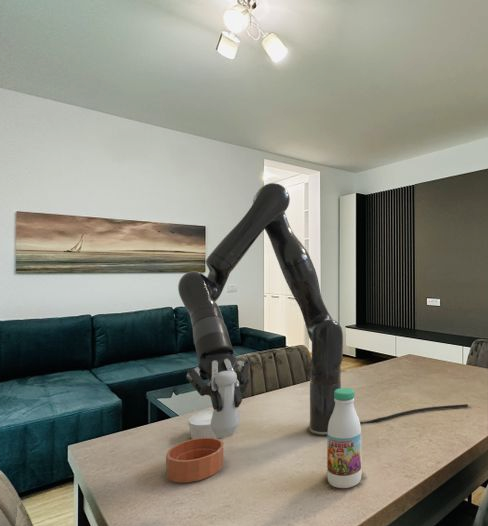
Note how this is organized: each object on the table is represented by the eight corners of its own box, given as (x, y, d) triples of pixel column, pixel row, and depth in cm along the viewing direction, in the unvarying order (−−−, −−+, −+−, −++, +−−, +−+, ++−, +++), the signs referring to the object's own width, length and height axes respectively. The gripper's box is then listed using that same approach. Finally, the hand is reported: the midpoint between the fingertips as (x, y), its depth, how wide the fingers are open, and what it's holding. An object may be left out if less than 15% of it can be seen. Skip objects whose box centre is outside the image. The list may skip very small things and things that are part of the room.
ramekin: (203, 447, 100) (203, 427, 101) (179, 437, 106) (179, 419, 106) (238, 432, 110) (238, 414, 110) (214, 424, 116) (214, 407, 116)
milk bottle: (328, 471, 88) (327, 385, 88) (360, 469, 88) (360, 384, 89) (326, 490, 80) (326, 396, 81) (362, 488, 81) (362, 395, 81)
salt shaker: (229, 441, 76) (230, 376, 76) (204, 438, 77) (205, 375, 77) (244, 429, 81) (245, 369, 82) (221, 427, 83) (222, 367, 83)
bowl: (231, 457, 95) (231, 437, 95) (208, 484, 82) (208, 461, 83) (184, 456, 95) (184, 437, 95) (154, 483, 83) (154, 460, 83)
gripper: (182, 333, 81) (196, 406, 71) (246, 327, 90) (266, 391, 80) (176, 354, 85) (189, 425, 75) (238, 346, 94) (256, 409, 84)
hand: (229, 407), depth 78 cm, fingers closed on salt shaker, 3 cm apart
